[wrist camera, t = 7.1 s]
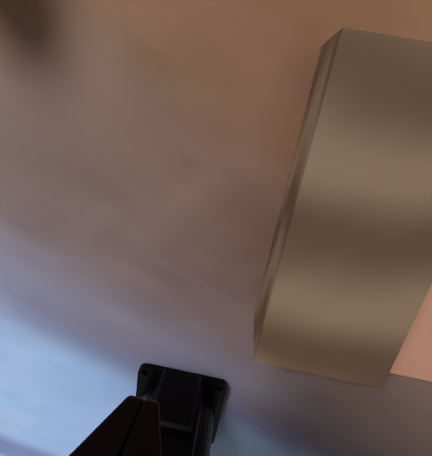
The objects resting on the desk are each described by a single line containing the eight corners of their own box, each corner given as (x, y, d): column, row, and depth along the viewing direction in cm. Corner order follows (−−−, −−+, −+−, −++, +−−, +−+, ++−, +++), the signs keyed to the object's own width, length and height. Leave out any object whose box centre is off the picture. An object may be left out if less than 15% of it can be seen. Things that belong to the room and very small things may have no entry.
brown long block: (359, 338, 21) (381, 388, 17) (253, 316, 22) (253, 361, 18) (470, 70, 15) (538, 60, 12) (321, 45, 16) (342, 28, 12)
